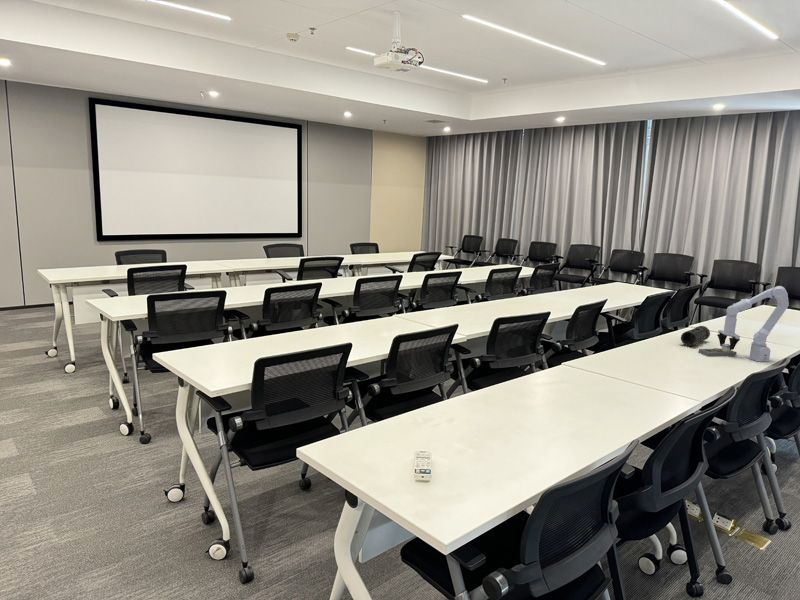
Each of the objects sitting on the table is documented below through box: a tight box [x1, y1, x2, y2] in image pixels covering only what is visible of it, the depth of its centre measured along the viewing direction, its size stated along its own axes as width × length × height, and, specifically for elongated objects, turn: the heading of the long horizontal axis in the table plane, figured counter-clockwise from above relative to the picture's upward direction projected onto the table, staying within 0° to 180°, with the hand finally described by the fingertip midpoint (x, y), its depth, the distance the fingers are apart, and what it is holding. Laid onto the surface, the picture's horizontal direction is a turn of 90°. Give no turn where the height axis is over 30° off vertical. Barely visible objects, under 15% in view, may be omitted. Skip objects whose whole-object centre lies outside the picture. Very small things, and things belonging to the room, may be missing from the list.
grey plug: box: [720, 343, 731, 352], centre depth 322 cm, size 4×4×6 cm
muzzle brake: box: [680, 325, 711, 348], centre depth 346 cm, size 10×28×10 cm, turn 134°
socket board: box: [697, 348, 738, 357], centre depth 321 cm, size 8×19×3 cm, turn 100°
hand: (726, 347), depth 322 cm, fingers open, 7 cm apart
